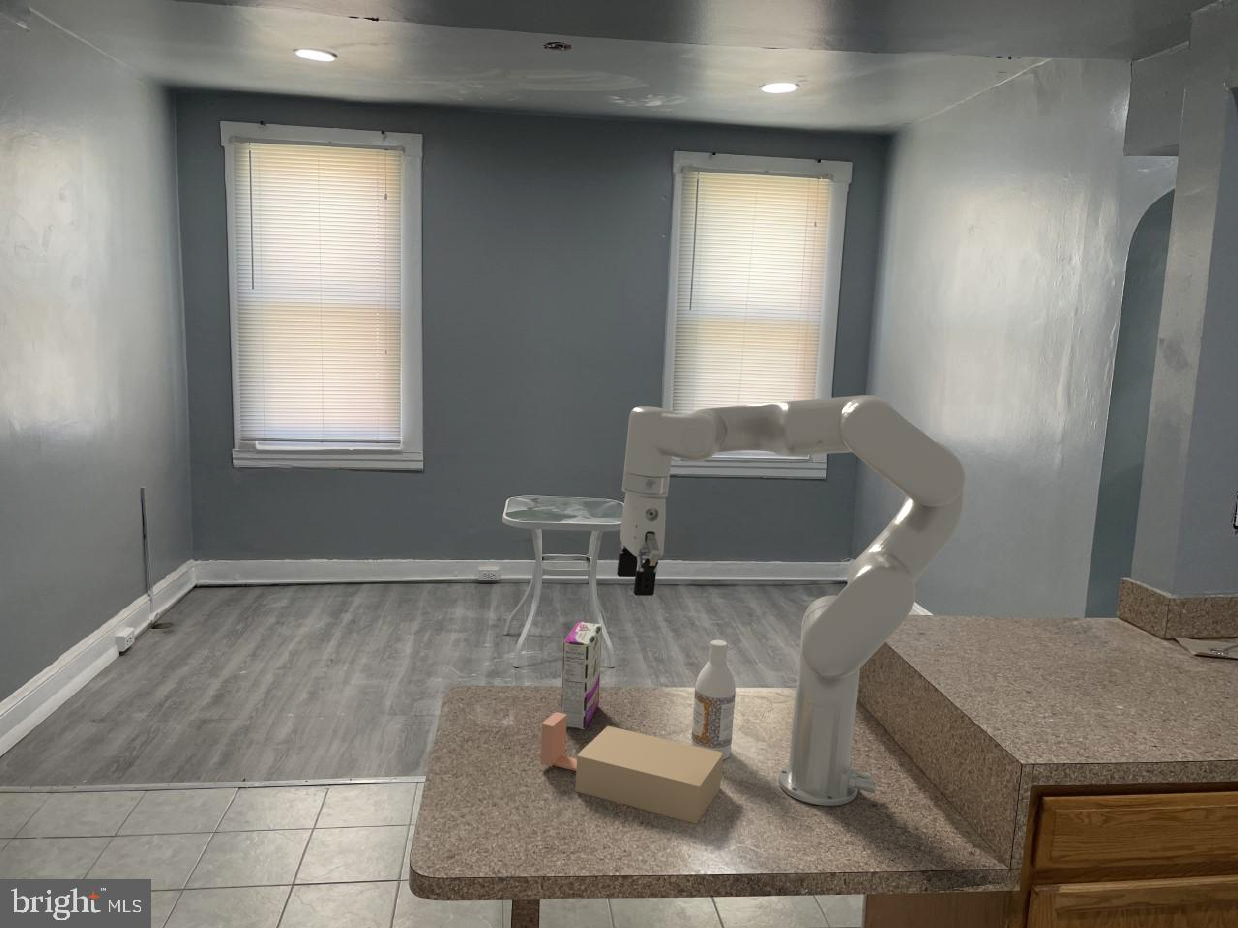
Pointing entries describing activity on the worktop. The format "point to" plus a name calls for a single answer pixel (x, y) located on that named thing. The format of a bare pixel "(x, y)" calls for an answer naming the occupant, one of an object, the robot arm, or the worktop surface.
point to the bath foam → (714, 703)
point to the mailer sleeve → (649, 773)
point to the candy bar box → (581, 674)
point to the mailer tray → (555, 743)
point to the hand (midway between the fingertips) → (634, 585)
